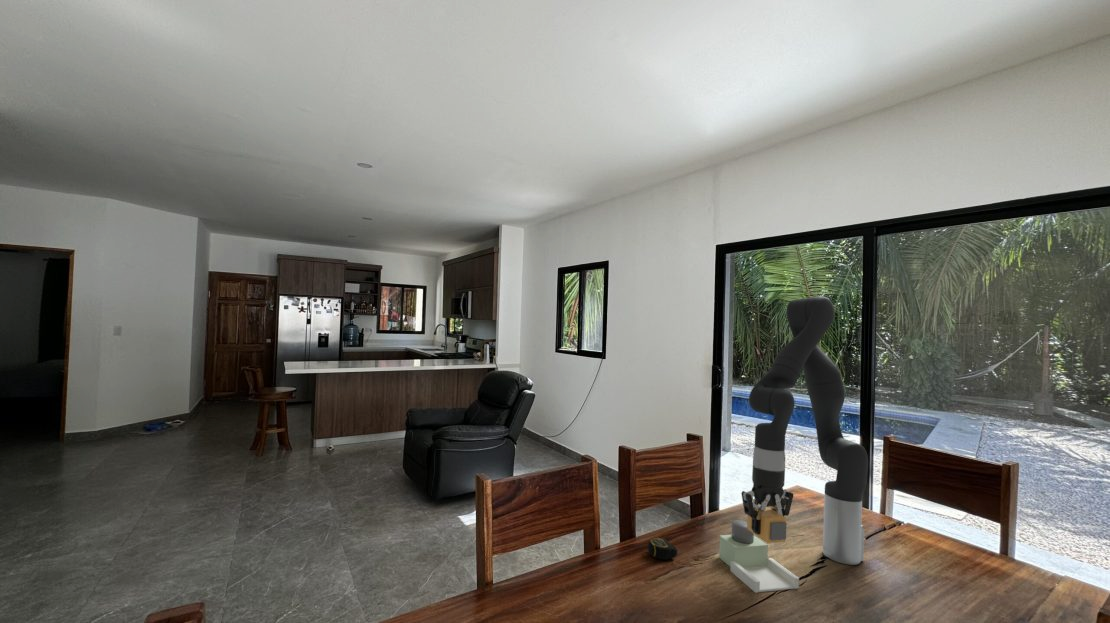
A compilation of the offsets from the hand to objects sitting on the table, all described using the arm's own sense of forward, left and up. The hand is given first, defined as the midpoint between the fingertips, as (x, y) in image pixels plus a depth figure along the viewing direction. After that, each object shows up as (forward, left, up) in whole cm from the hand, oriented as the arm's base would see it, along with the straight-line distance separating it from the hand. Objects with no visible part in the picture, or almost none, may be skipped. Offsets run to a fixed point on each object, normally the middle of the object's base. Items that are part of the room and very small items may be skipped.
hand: (765, 532), depth 119 cm
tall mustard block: (0, 0, -1) cm, 1 cm away
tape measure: (+20, -16, -12) cm, 29 cm away
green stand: (0, -4, -12) cm, 13 cm away
